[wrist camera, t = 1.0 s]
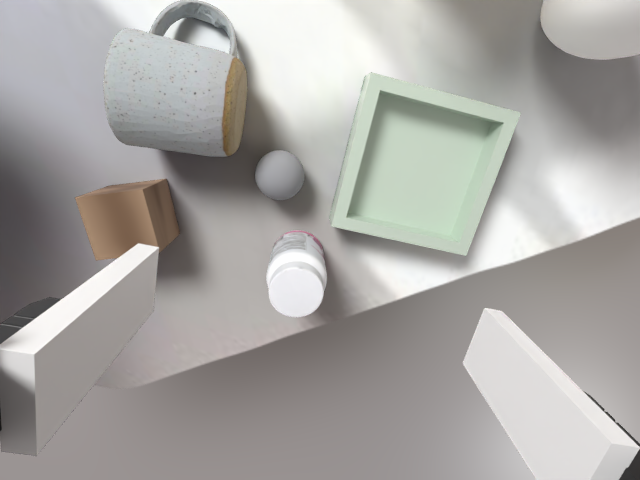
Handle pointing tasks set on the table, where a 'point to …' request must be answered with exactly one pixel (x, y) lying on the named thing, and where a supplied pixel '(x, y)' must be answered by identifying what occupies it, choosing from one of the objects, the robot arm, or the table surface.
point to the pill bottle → (296, 274)
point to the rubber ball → (279, 175)
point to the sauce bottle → (593, 27)
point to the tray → (420, 164)
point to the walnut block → (128, 217)
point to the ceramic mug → (176, 87)
